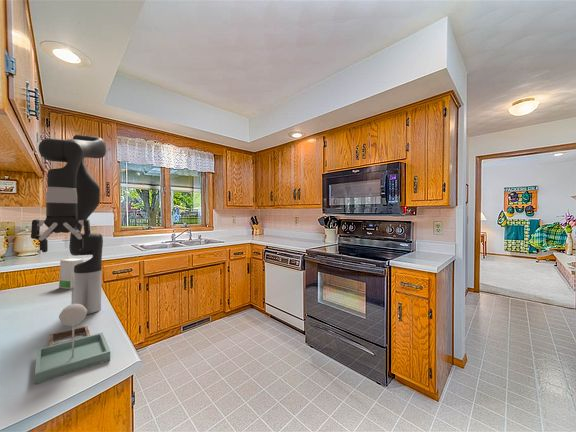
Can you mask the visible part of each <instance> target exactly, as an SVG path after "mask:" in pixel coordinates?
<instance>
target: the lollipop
mask: <svg viewBox="0 0 576 432" xmlns="http://www.w3.org/2000/svg"><path fill="white" fill-rule="evenodd" d="M87 315H88V314H87V309H86V308H85V307H84V306H83V305H81V304H69V305H67V306H65V307H64V308H63V309H62V311H61V312H60V313H59V314H58V319H59V321H60V322H61V324H63V325H65V326H68V327H72V336H71V340H72V357H73V356H74V339H75V335H74V329H75V326H76V325H78V324H80V323H81V322H83V321H84V320H85V318H86V316H87Z"/></svg>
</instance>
